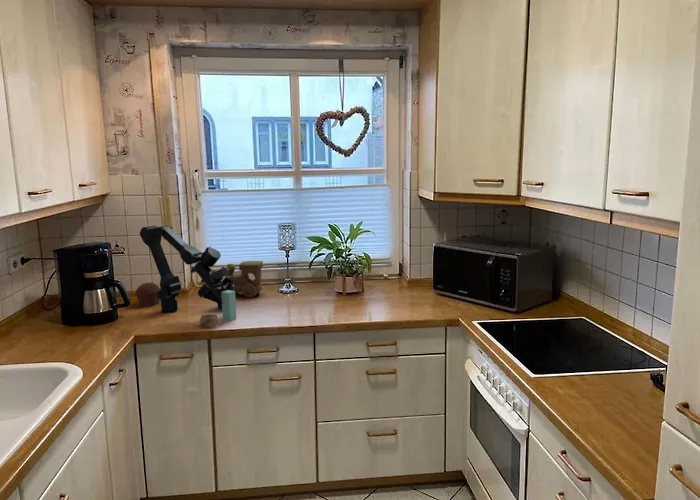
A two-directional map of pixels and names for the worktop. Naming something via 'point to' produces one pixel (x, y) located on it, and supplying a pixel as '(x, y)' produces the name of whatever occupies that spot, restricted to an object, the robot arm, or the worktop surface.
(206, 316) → the base block
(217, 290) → the coffee mug
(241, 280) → the wooden toy train
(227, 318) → the tall block
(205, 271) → the robot arm
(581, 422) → the worktop surface
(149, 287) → the muffin
